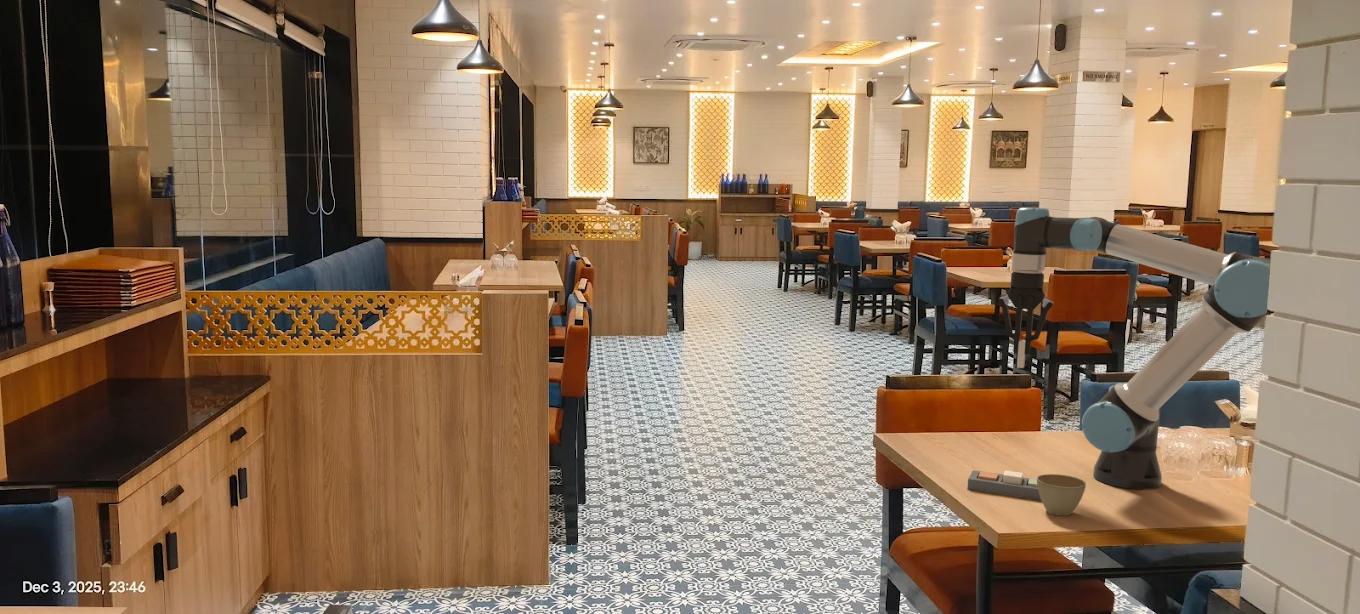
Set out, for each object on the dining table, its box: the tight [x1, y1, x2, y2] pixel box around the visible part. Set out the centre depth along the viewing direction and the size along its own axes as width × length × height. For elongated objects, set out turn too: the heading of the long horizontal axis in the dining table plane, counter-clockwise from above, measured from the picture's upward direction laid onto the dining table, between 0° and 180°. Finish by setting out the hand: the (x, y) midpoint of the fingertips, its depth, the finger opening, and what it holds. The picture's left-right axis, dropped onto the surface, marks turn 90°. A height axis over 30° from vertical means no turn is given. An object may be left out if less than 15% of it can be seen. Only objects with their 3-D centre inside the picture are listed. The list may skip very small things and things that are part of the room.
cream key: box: [1003, 470, 1024, 485], centre depth 227 cm, size 4×4×2 cm
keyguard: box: [967, 469, 1042, 501], centre depth 227 cm, size 19×8×2 cm, turn 66°
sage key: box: [1028, 478, 1038, 487], centre depth 224 cm, size 4×4×2 cm
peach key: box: [978, 471, 999, 481], centre depth 229 cm, size 4×4×2 cm
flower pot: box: [1036, 473, 1087, 517], centre depth 212 cm, size 10×10×7 cm
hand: (1020, 366), depth 240 cm, fingers closed
